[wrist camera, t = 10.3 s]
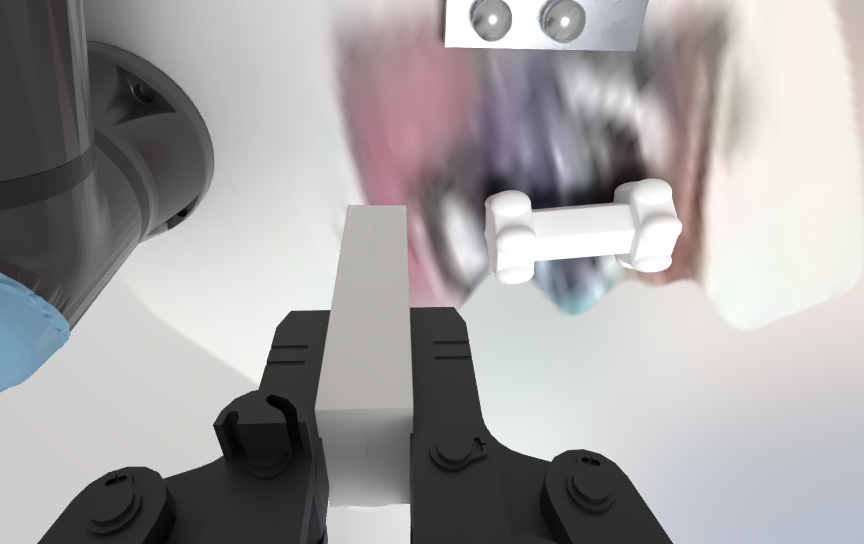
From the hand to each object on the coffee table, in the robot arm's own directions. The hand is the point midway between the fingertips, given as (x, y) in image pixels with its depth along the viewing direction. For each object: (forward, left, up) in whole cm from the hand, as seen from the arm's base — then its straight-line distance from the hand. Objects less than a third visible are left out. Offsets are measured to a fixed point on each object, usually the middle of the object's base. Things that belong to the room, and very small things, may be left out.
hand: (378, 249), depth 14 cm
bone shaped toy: (+16, -14, -29) cm, 36 cm away
